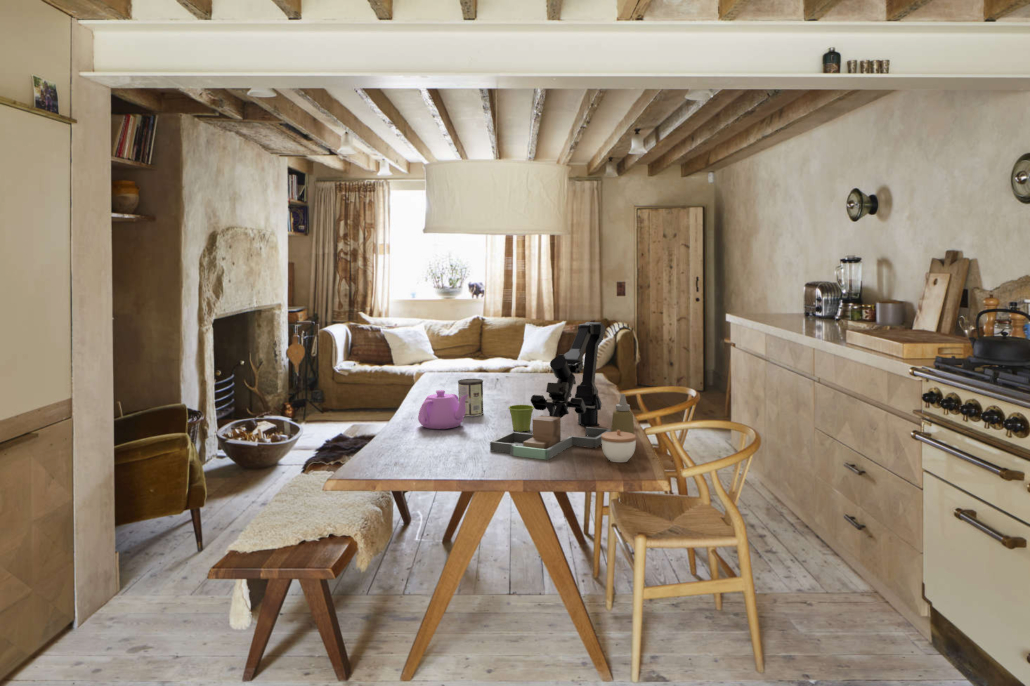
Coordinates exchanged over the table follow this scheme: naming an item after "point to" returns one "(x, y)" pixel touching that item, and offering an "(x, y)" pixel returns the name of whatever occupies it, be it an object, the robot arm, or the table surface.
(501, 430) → the table surface
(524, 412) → the plant pot
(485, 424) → the table surface
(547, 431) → the walnut block
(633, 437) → the lidded jar
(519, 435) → the bent walled tray
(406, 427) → the table surface
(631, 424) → the squeeze bottle
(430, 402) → the teapot
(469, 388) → the coffee can
